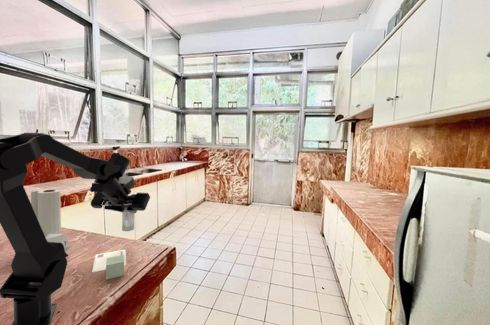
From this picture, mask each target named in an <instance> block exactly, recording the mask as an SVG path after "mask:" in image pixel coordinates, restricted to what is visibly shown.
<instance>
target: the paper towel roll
mask: <svg viewBox="0 0 490 325" xmlns="http://www.w3.org/2000/svg"><path fill="white" fill-rule="evenodd" d="M30 203H31V205H32V207H33V210H34V212H35V214H36V216H37V219H38V221H39V223H40V226H41V228H42V230H43V233H44V235H45V237H46V236H47V235H48V234H62V229H61V228H62V226H61V225H62V224H61V222H62V221H61V218H62V217H61V215H62V214H61V212H62V210H61V190H60V189H43V190H34V191H31V192H30Z"/></svg>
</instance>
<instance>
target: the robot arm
mask: <svg viewBox="0 0 490 325" xmlns="http://www.w3.org/2000/svg"><path fill="white" fill-rule="evenodd" d="M40 157H42V158H45V159H48V160H49V161H53V162H55V163H57V164H60V165H63V166H65V167H67V168H69V169H71V170H73V172H74V174H76V175H77V176H78V177H80V178H82V179H85V180H94V181H93V182H92V183H91V187H90V189H89V191H90V192H91V193H95V194H94V196H93V197H92V199H91V201H90V206H91V207H92V208H94V209H102V208H103V209H104V210H108V211H114V212H119V213H122V206H123V205H128V204H129V206H128V208H127V211H130V212H133V213H134V214H137V212H138V211H139V212H141V211H142V212H143V211H145V210H146V209H147V206H148V203H149V201H150V199H151V196H150V194H149V193H148V192H142V191H141V192H136V194H134V193H133V194H131V193H132V190H131V189H132V188H133V187H134V186H135V185H136V182H135V179H134V176H130V175H129V176H128V175H126V176H125V175H124V174H125V173H126V171H127V169H128V167H129V166H130V164H131V161H130V159H129V158H127V157H126V156H124V155H122V154H120V153H119V152H112V154H111V156H110V158H109V159H108V160H106V159H103V158H99V157H92V156H89V155H86V154H84V153H83V152H81V151H79V150H77V149H75V148H73V147H71V146H69V145H66V144H65V143H63V142H61V141H59V140H57V139H55V138H54V137H53V136H52V135H49V133H46V132H45V133H44V132H24V133H19V134H16V135H12V136H8V137H3V138H0V226H1V227H2V230H3V231H4V233H5V236H6V238H7V239H8V242H9V243H10V245H11V247H12V249H13V252H14V256H13V259H12V261H11V265H10V266H11V269H12V272H11V273H10V275H9V276H8V278H7V279H6V280H5V282H4V283H3V285H1V287H0V297H1V299H13V321H12V322H11V325H49V324H50V323H51V321H52V318H53V315H54V313H55V311H56V308H57V303H56V302H55V303H52V294H54V293H55V292H56V291H57V290H59V289H60V288H61V287H62V286H63V281H64V278H65V274H66V270H67V266H68V260H67V258H68V257H69V254H68V253H67V251H66V252H65V250H64V245H63V244H62V243H58V242H48V241H47V240H46V237H45V235H44V233H43V230H42V228H41V226H40V223H39V221H38V219H37V216H36V214H35V212H34V210H33V207H32V205H31V199H30V198H29V196H28V194H27V192H26V189H25V187H24V183H25V182H24V181H25V179H26V177H27V175H28V164H30V163H32V162H35V161H37V160H38V159H39V158H40ZM129 195H131V196H129ZM103 206H104V207H103Z"/></svg>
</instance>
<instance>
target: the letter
mask: <svg viewBox="0 0 490 325" xmlns="http://www.w3.org/2000/svg"><path fill="white" fill-rule="evenodd" d="M126 252H127V251H126V249H120V250H114V251H113V250H112V251H108V252H103V253H102V252H101V253H99V254H95V256H94V260H93V266H92V271H91V274H92V273H97V272H101V271H106V261H107V258H110V257H115V256H121V255H124V267H125V266H127V255H126Z"/></svg>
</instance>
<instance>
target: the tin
mask: <svg viewBox="0 0 490 325" xmlns="http://www.w3.org/2000/svg"><path fill="white" fill-rule="evenodd" d="M131 195H132V194H128V196H131ZM128 206H129V204H128V205H123V206H122V212H121V231H122V232H131V231H134V229H135V213H133V212H130V211H127V208H128Z"/></svg>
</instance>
